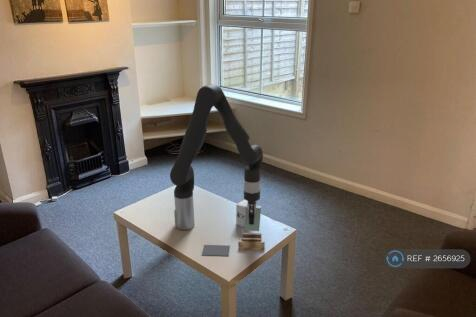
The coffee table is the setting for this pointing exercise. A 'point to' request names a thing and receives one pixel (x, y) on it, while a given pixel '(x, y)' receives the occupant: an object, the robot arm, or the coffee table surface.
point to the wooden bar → (251, 245)
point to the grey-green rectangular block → (256, 220)
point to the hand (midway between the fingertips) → (251, 222)
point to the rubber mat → (216, 250)
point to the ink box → (241, 213)
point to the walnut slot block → (251, 237)
